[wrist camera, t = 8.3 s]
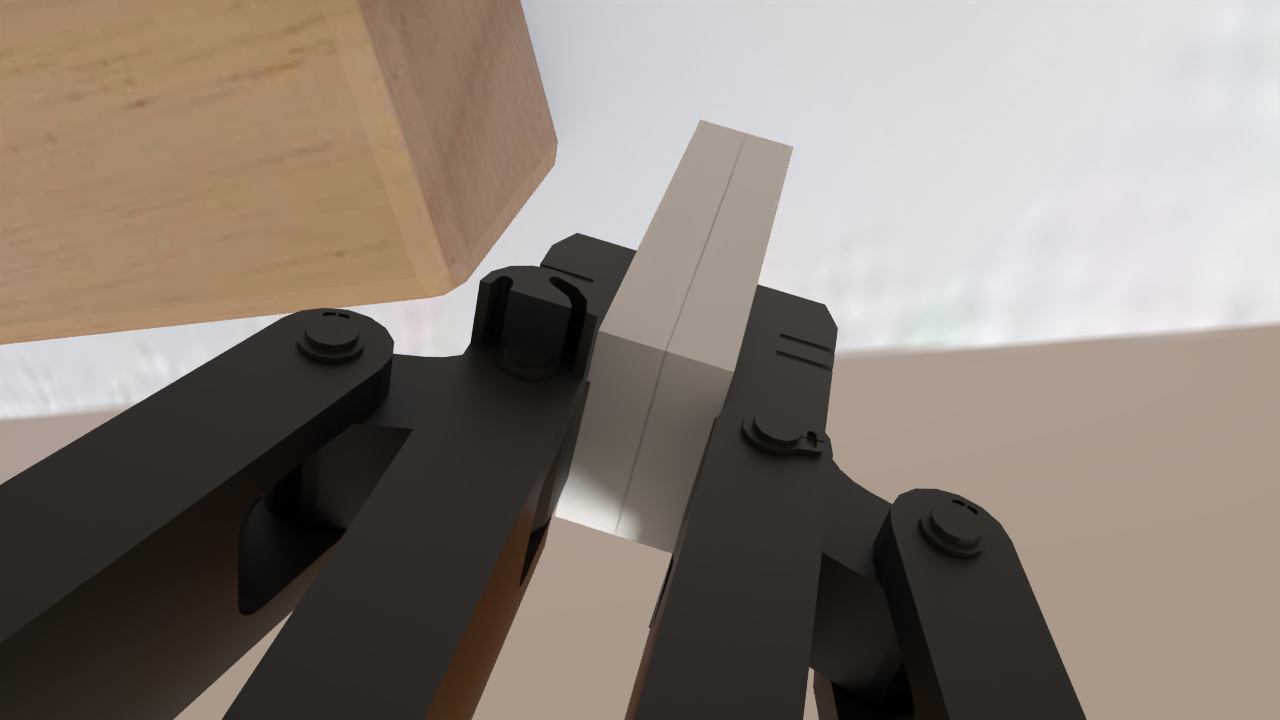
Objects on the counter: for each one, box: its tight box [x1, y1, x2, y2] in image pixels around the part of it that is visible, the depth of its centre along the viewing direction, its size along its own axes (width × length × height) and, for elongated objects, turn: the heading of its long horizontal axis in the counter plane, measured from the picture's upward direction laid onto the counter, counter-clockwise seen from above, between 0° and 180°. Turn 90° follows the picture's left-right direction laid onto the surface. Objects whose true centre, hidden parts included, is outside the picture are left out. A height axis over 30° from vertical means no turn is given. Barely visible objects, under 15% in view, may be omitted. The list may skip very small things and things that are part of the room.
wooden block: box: [0, 0, 558, 345], centre depth 31 cm, size 10×10×20 cm
